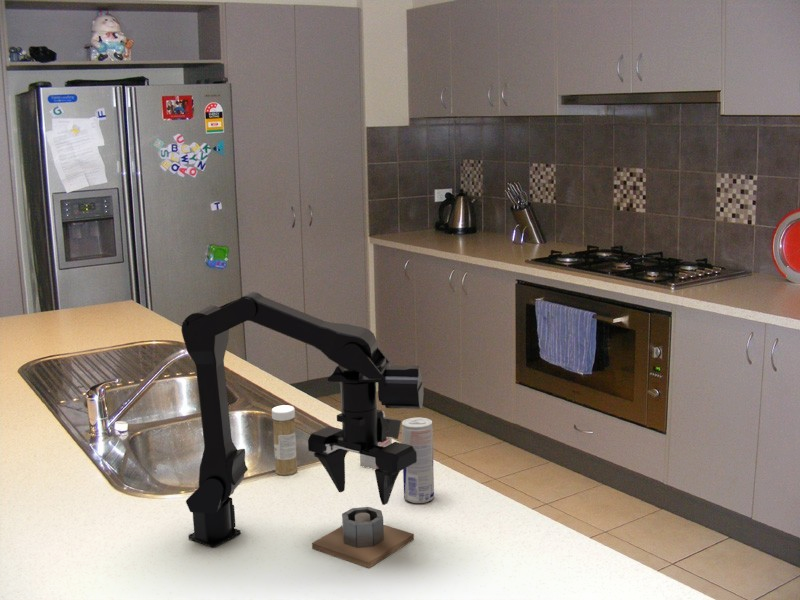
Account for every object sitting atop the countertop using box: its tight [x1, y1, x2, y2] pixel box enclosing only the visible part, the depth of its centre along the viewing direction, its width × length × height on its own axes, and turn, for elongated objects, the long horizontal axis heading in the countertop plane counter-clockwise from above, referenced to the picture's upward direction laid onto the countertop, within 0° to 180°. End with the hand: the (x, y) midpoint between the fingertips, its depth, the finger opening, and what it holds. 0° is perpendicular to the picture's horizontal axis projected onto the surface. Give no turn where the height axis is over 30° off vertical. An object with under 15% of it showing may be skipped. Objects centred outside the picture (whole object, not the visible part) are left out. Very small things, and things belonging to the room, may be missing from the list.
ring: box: [341, 506, 384, 548], centre depth 152 cm, size 7×7×4 cm
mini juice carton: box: [359, 410, 393, 470], centre depth 187 cm, size 4×7×10 cm, turn 152°
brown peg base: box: [311, 513, 415, 569], centre depth 152 cm, size 12×12×5 cm
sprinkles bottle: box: [271, 404, 298, 476], centre depth 183 cm, size 5×5×14 cm
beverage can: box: [401, 417, 435, 504], centre depth 168 cm, size 6×6×15 cm
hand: (362, 497), depth 150 cm, fingers open, 9 cm apart
